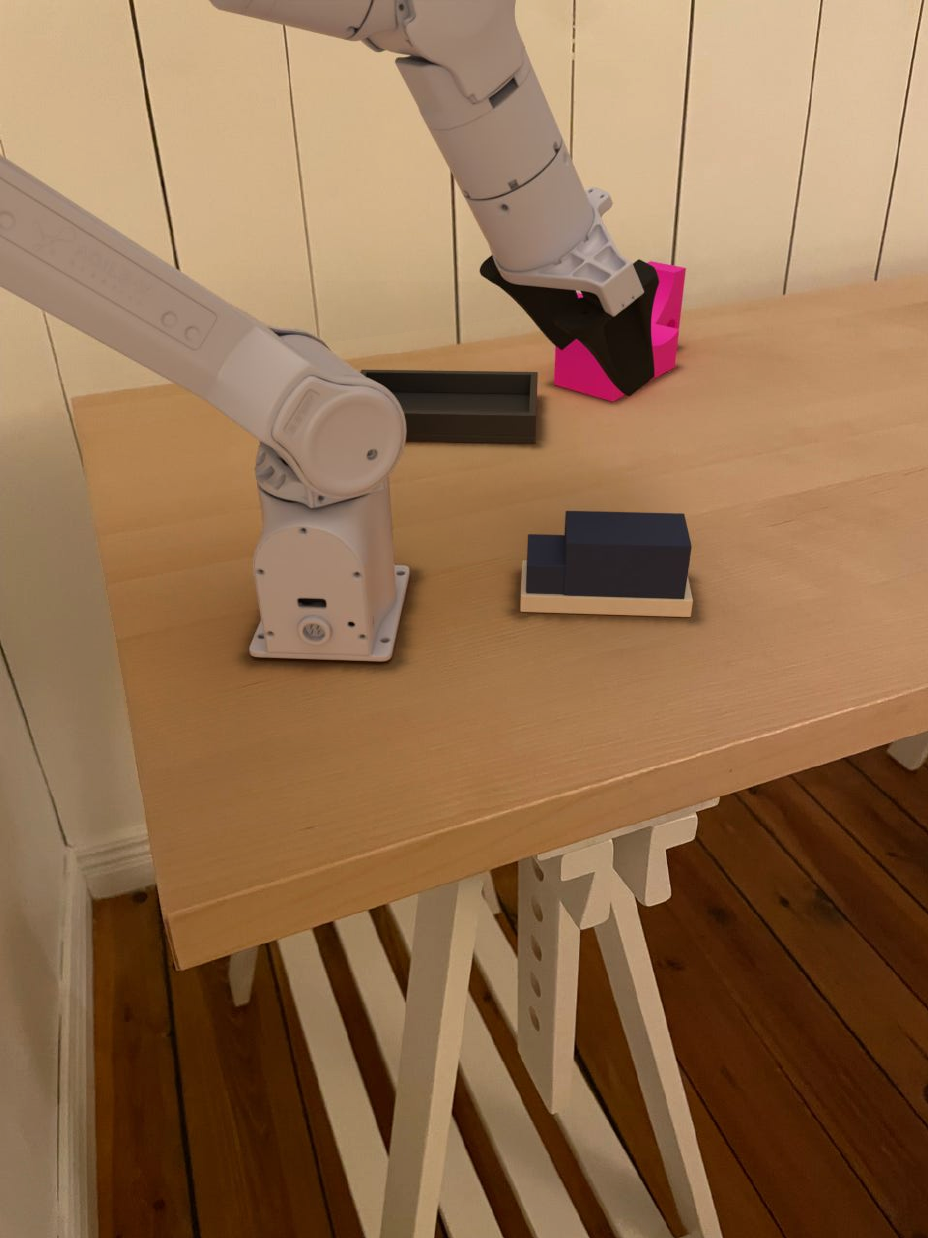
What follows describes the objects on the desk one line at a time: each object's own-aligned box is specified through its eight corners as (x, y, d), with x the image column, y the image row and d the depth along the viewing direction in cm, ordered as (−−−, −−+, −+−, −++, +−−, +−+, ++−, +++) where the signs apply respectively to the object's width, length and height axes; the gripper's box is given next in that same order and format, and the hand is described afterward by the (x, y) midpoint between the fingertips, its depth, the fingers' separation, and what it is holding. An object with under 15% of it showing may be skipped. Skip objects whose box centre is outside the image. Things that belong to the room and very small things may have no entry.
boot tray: (535, 443, 77) (536, 415, 75) (345, 440, 78) (342, 411, 77) (536, 398, 84) (537, 371, 83) (363, 395, 85) (361, 369, 84)
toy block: (612, 401, 84) (619, 314, 79) (553, 384, 87) (557, 299, 83) (700, 353, 93) (710, 272, 88) (643, 339, 96) (650, 260, 92)
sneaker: (683, 580, 60) (692, 512, 58) (690, 617, 57) (701, 547, 54) (521, 576, 61) (523, 508, 58) (520, 612, 58) (522, 542, 55)
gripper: (652, 142, 45) (729, 362, 54) (506, 91, 55) (592, 283, 65) (532, 239, 45) (630, 441, 54) (408, 169, 55) (509, 349, 65)
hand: (603, 360), depth 59 cm, fingers open, 7 cm apart
